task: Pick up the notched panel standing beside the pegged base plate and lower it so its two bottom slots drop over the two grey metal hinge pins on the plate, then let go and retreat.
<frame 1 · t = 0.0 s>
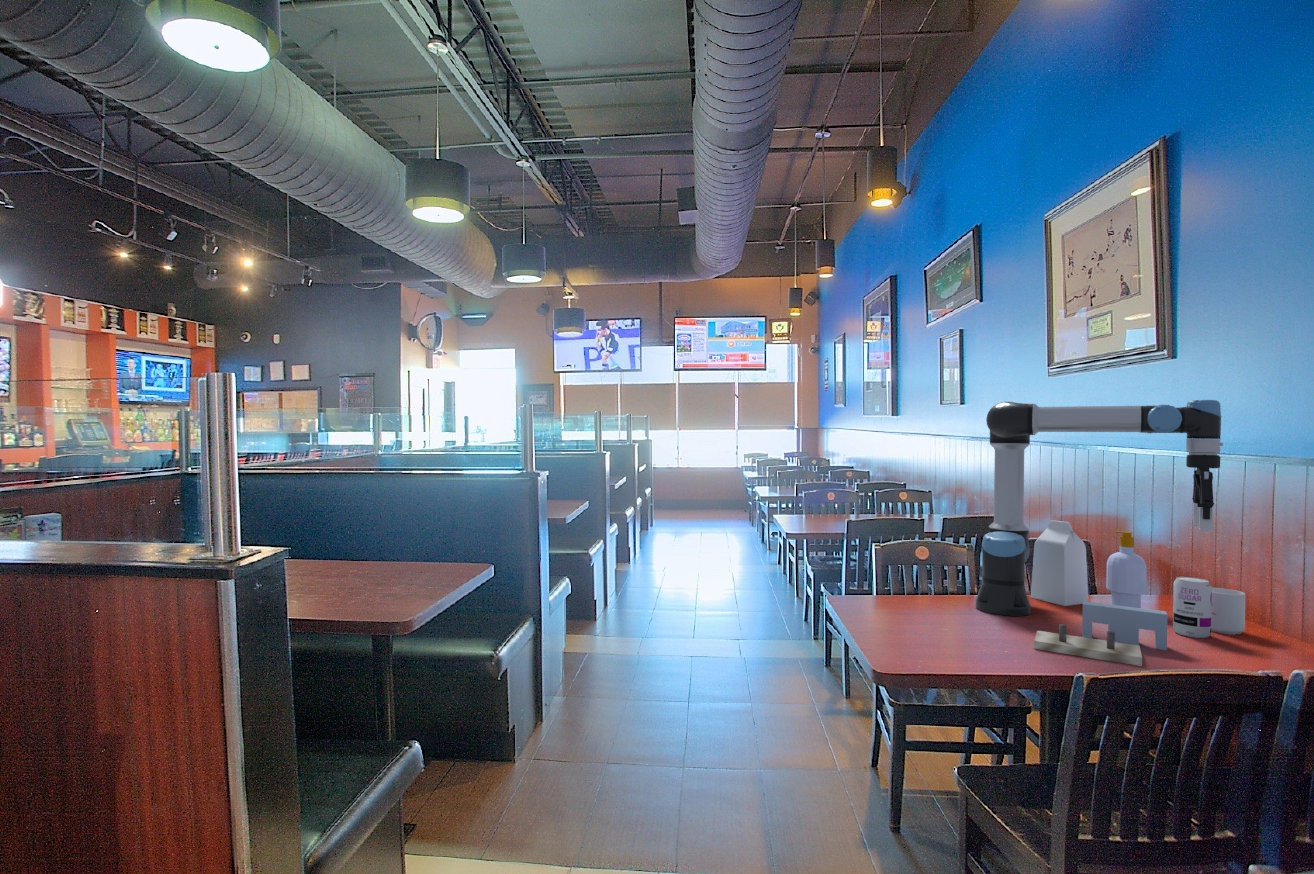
hand: (1202, 528, 190), 28 cm above the table, fingers open, 13 cm apart
pegged base plate: (1086, 651, 166), on the table
milk: (1059, 600, 220), on the table
mug: (1218, 629, 188), on the table
supplement can: (1191, 634, 182), on the table
notched panel: (1123, 641, 174), on the table
soap bottle: (1125, 609, 209), on the table
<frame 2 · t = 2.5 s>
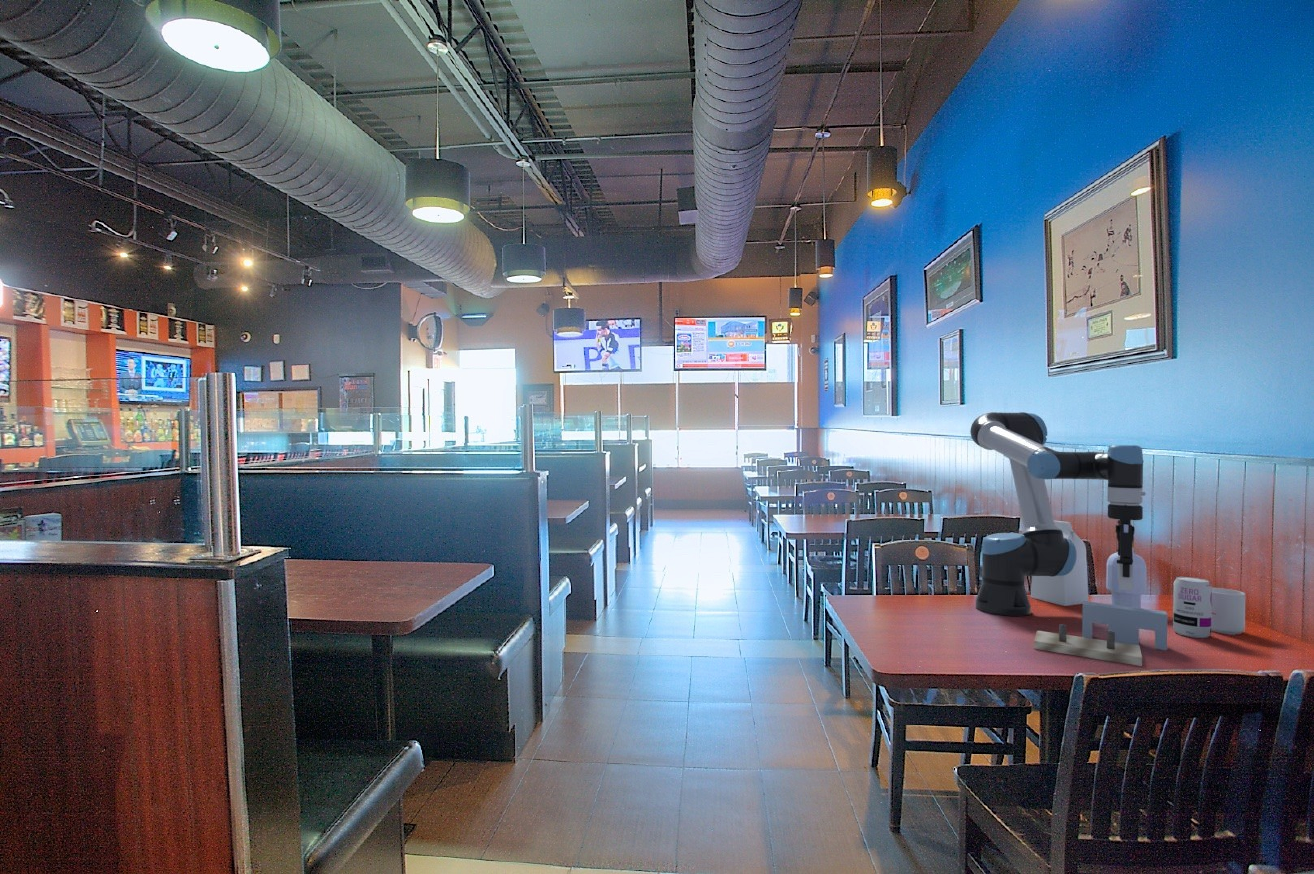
hand: (1124, 585, 174), 15 cm above the table, fingers open, 13 cm apart
nothing on the table moved.
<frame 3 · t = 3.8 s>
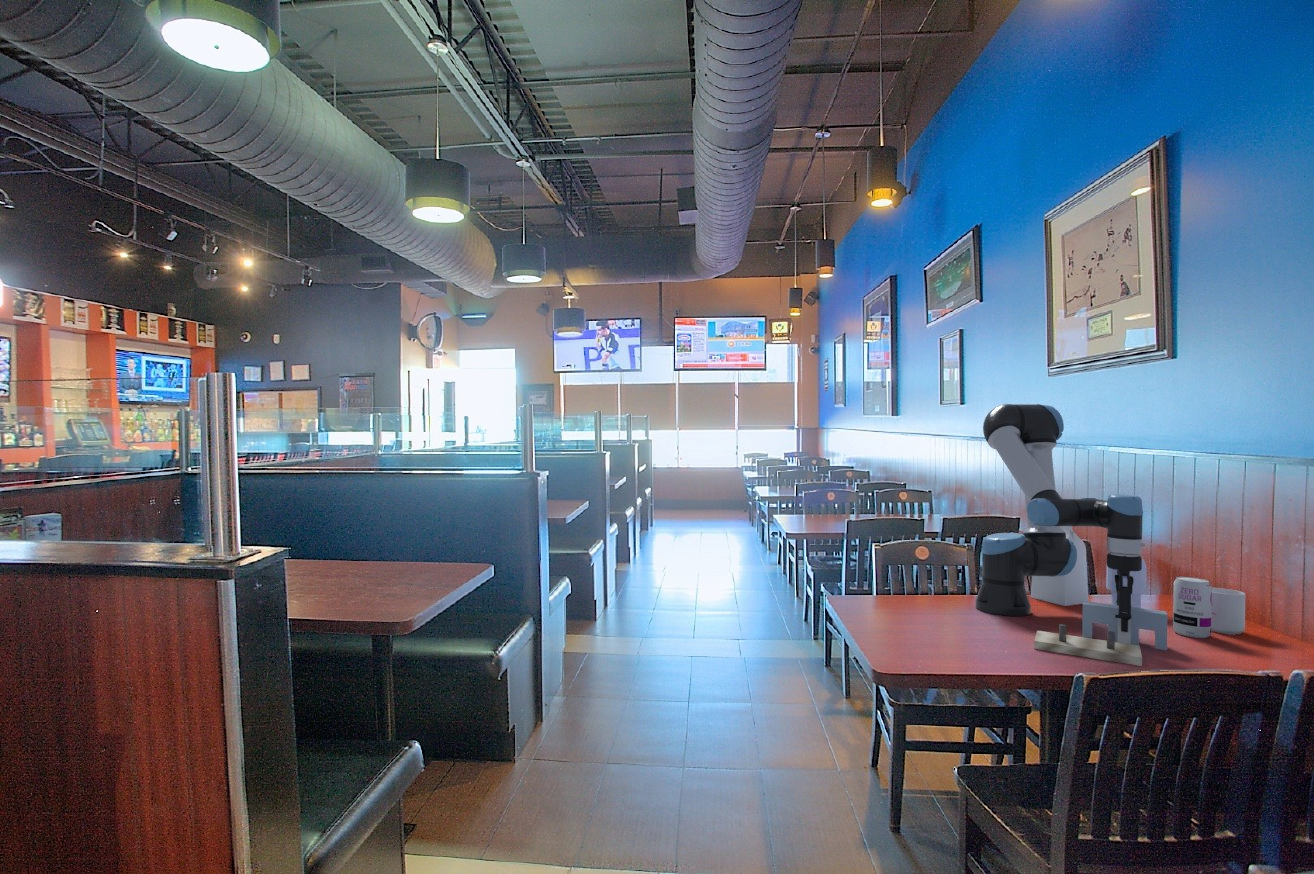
hand: (1123, 638, 174), 1 cm above the table, fingers open, 10 cm apart
nothing on the table moved.
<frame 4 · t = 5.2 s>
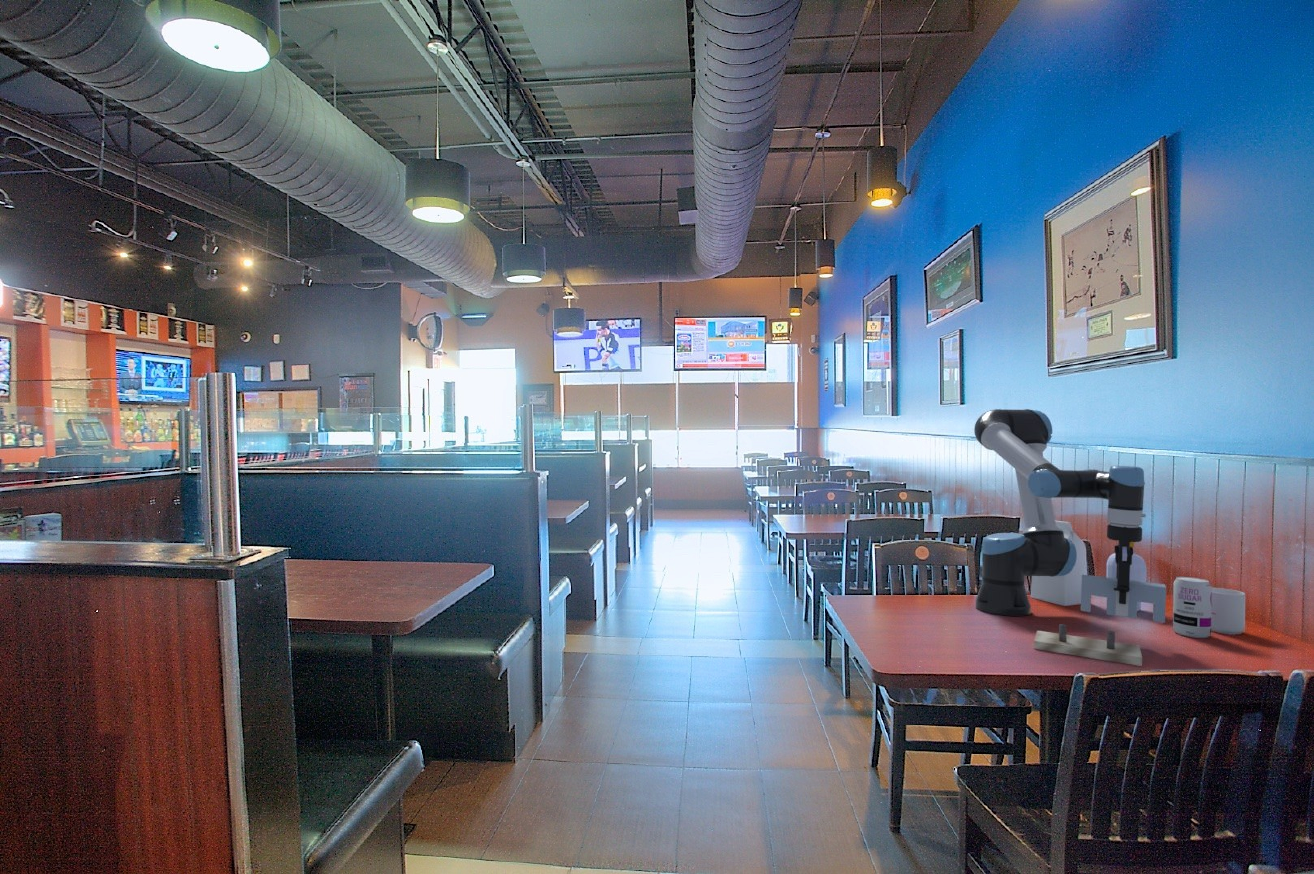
hand: (1121, 613, 175), 7 cm above the table, fingers closed on notched panel, 4 cm apart
notched panel: (1121, 614, 175), point 7 cm above the table, touching gripper
everything else where it was.
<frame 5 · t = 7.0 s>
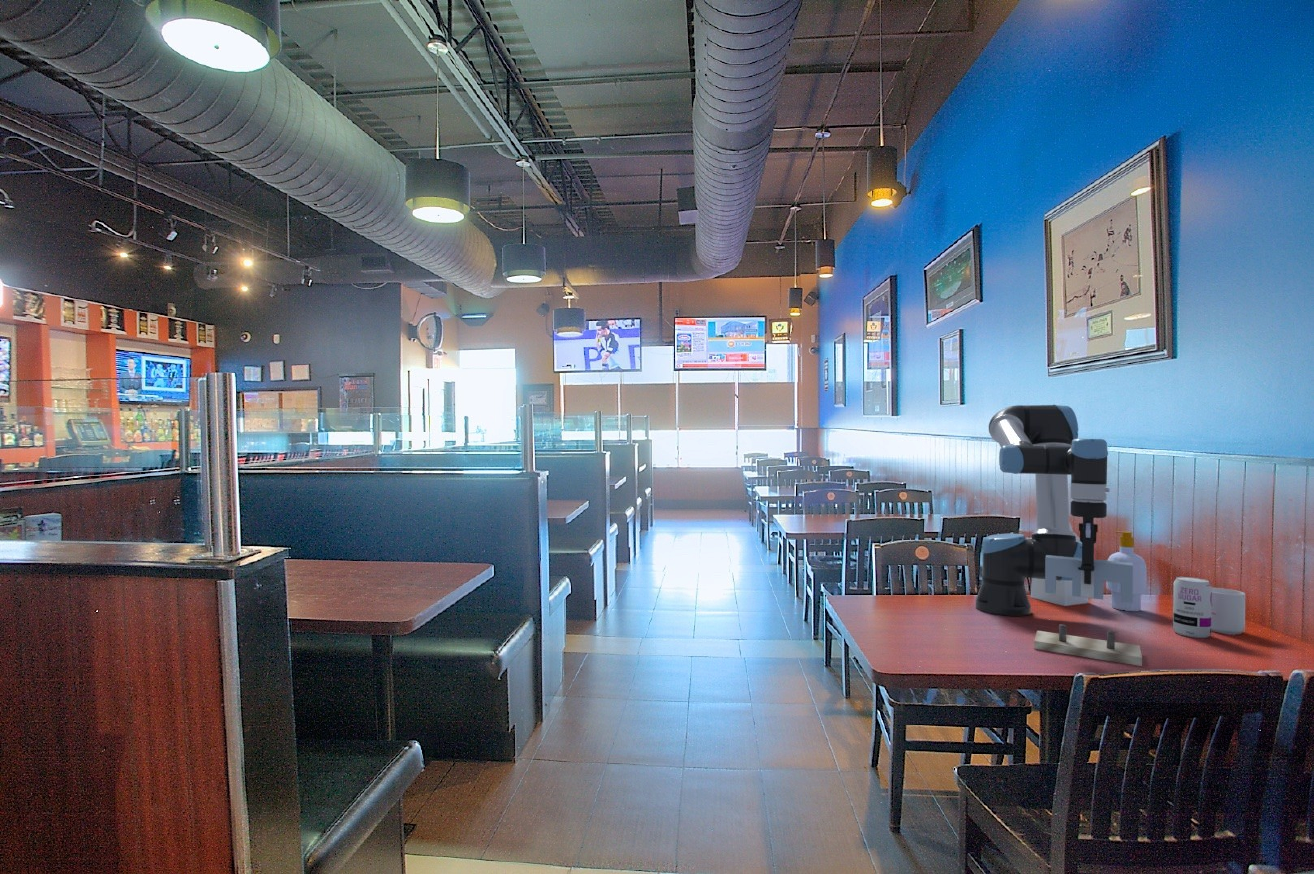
hand: (1087, 594, 165), 14 cm above the table, fingers closed on notched panel, 4 cm apart
notched panel: (1087, 596, 165), point 14 cm above the table, touching gripper
everything else where it was.
when the fingers open (3 cm above the table, at t = 9.0 s): notched panel stays where it is, resting on pegged base plate.
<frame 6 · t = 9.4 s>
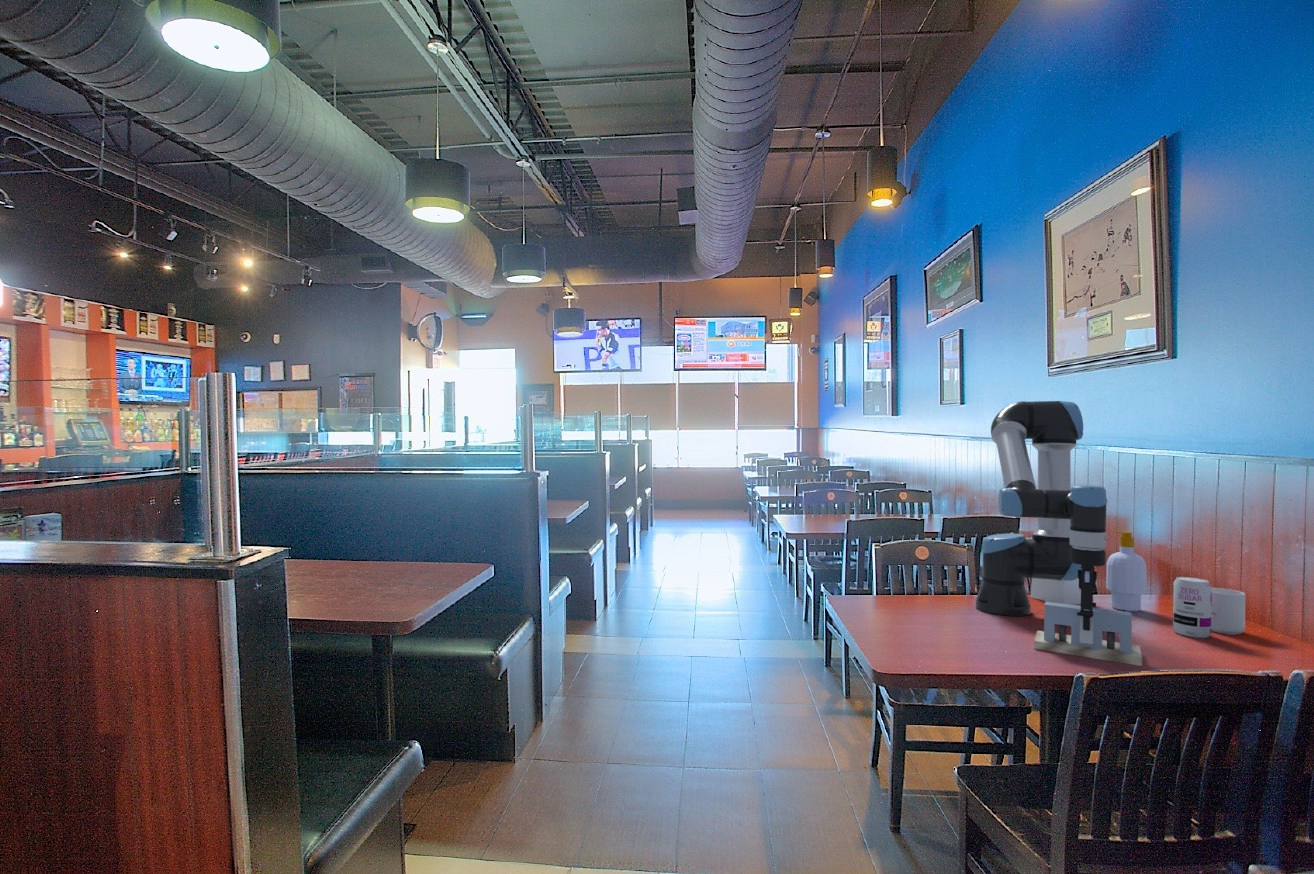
hand: (1086, 637, 165), 4 cm above the table, fingers open, 10 cm apart
notched panel: (1086, 644, 165), point 2 cm above the table, touching pegged base plate
everything else where it was.
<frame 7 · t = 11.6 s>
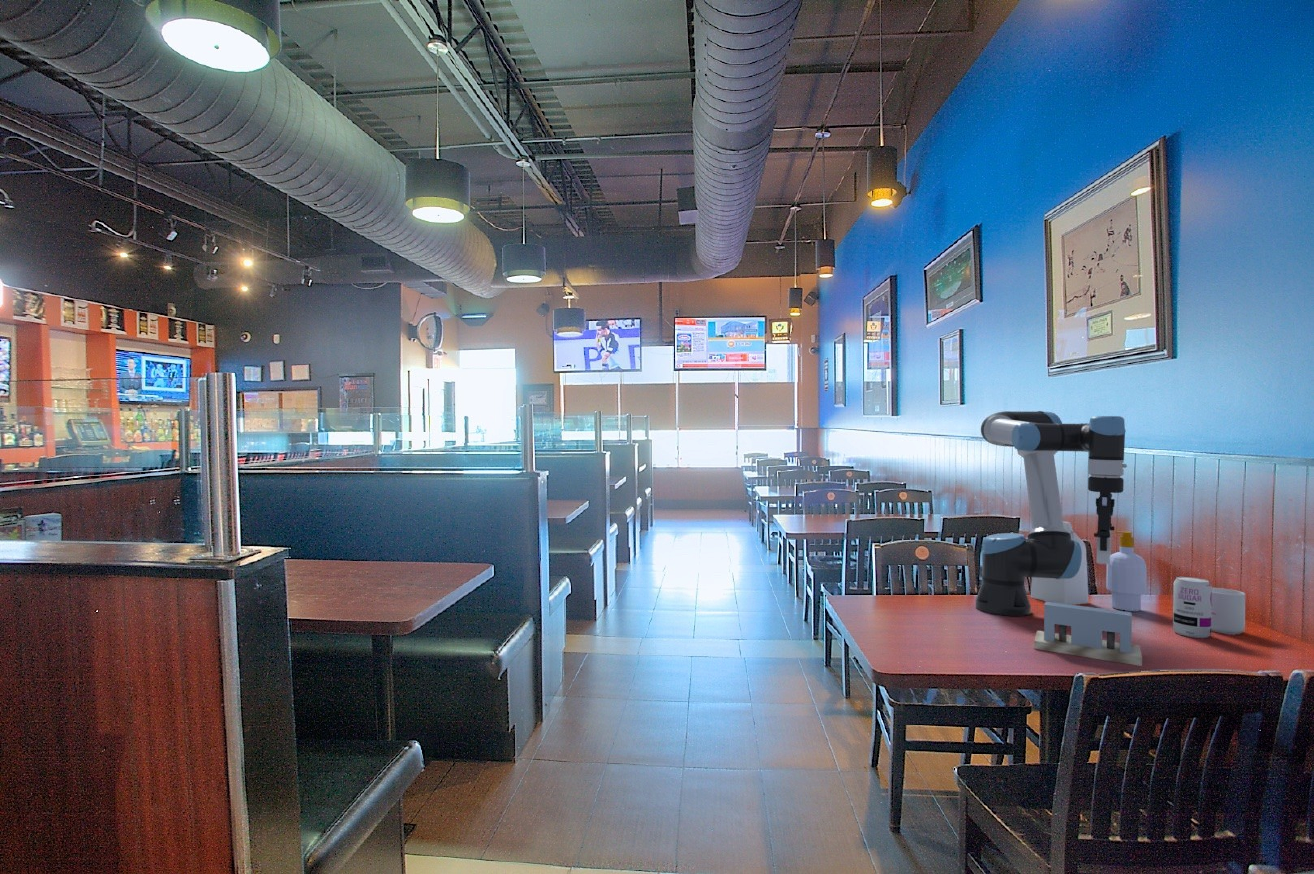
hand: (1103, 559, 170), 22 cm above the table, fingers open, 13 cm apart
nothing on the table moved.
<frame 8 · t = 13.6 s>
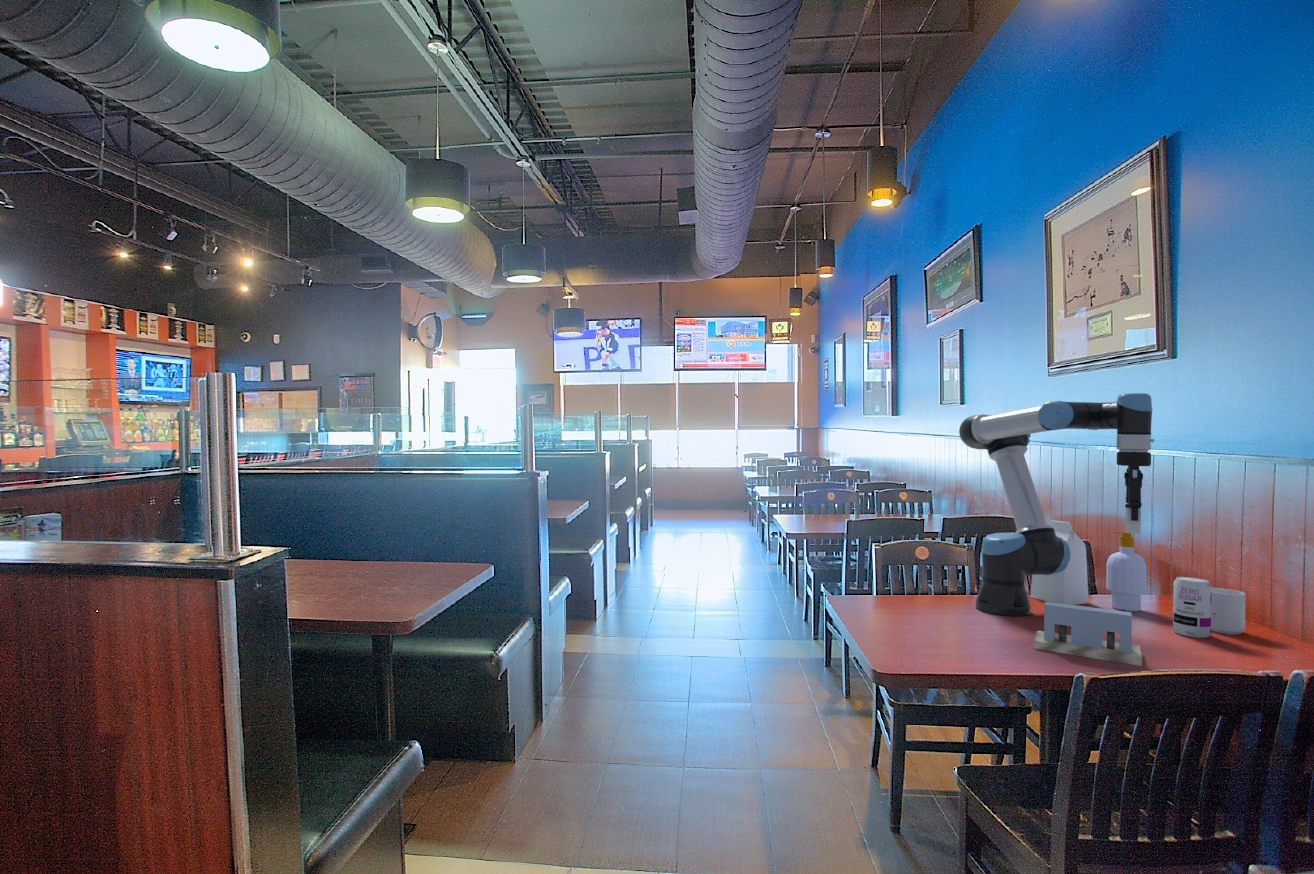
hand: (1132, 530, 178), 29 cm above the table, fingers open, 13 cm apart
nothing on the table moved.
at the end: notched panel 0.1 cm from the target spot on the pegged base plate, point 2.0 cm above the pegged base plate's base; notched panel tilted 0°; the gripper is holding nothing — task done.
